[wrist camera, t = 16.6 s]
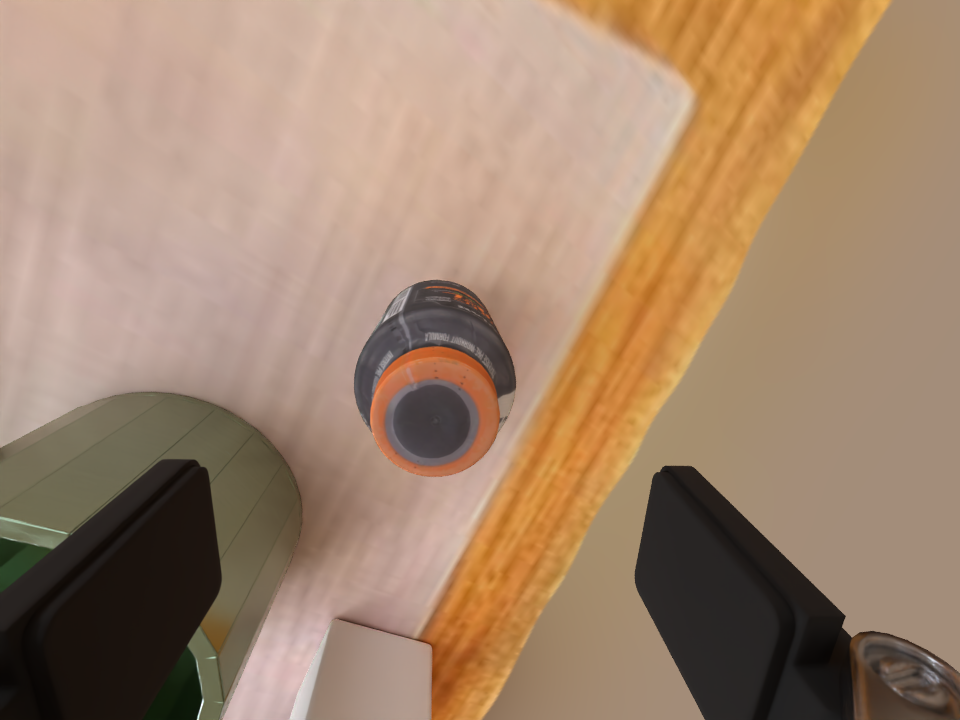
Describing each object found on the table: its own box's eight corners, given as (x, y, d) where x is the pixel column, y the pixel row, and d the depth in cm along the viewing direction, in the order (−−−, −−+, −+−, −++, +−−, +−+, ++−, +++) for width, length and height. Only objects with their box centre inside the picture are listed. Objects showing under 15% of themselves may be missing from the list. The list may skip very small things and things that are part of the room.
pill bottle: (514, 327, 25) (573, 411, 14) (444, 405, 26) (448, 540, 15) (429, 253, 23) (420, 284, 12) (358, 339, 24) (293, 437, 13)
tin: (1, 388, 23) (-330, 516, 13) (294, 394, 25) (196, 513, 15) (62, 612, 28) (-153, 836, 18) (309, 605, 29) (240, 809, 19)
